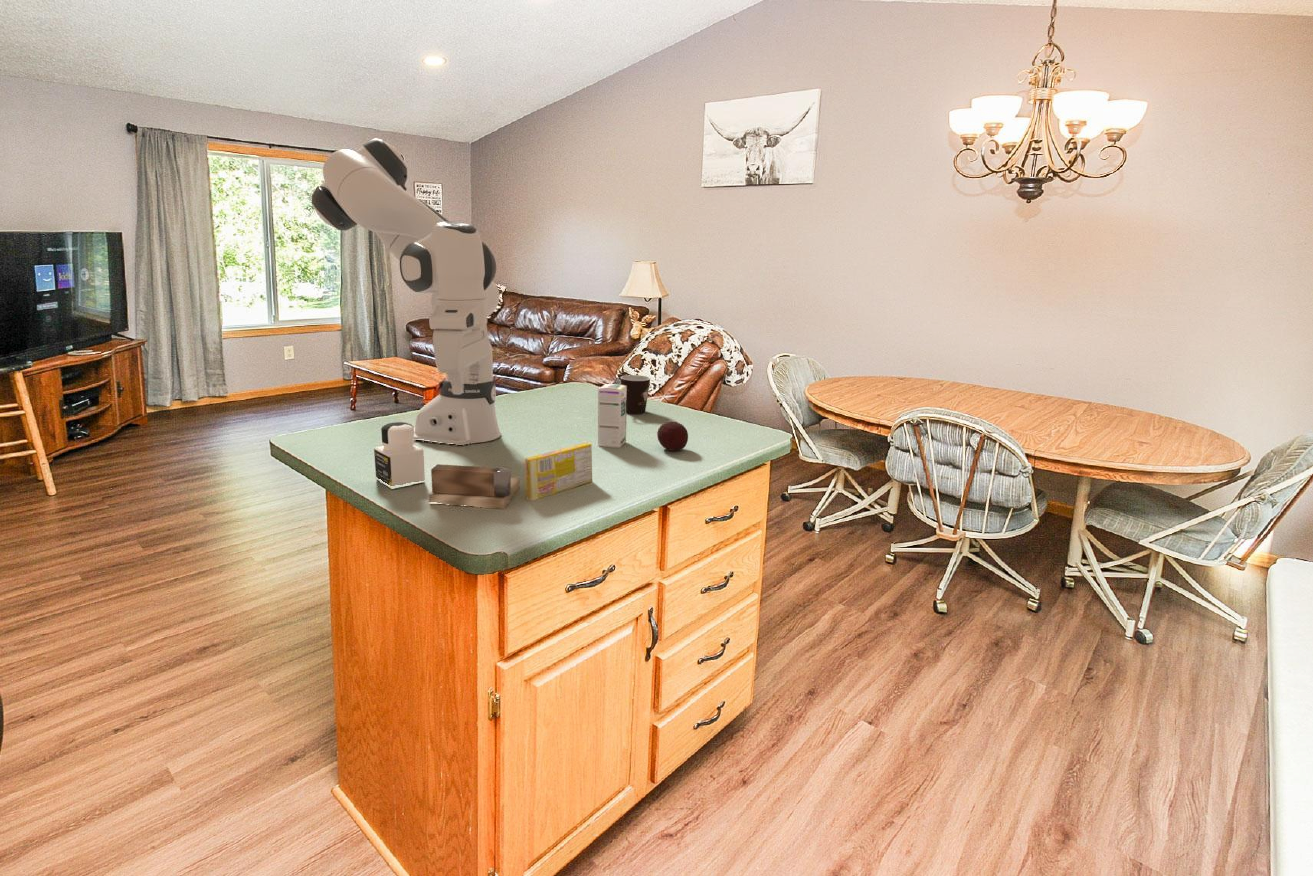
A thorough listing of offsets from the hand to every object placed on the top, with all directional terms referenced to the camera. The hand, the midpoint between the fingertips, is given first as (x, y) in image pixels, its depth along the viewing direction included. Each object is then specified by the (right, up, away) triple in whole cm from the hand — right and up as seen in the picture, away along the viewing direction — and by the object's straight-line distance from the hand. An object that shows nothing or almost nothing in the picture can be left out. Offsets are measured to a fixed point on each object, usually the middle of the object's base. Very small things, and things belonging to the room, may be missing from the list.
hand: (466, 388), depth 138 cm
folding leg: (+1, -19, -1) cm, 19 cm away
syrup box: (+25, -11, +42) cm, 50 cm away
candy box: (+16, -20, +9) cm, 27 cm away
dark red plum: (+40, -12, +39) cm, 57 cm away
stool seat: (+1, -20, +3) cm, 21 cm away
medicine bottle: (-16, -18, +9) cm, 26 cm away
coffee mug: (+28, -2, +74) cm, 80 cm away
